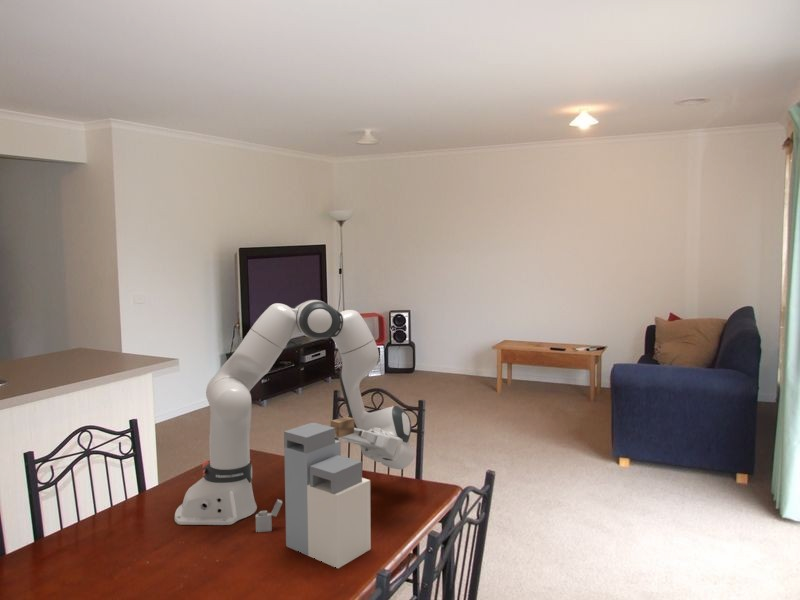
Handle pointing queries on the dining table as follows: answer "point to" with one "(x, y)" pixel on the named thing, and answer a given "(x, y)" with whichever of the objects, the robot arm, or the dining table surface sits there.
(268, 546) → the dining table surface
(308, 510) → the stand
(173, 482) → the dining table surface
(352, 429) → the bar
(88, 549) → the dining table surface
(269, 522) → the lighter
